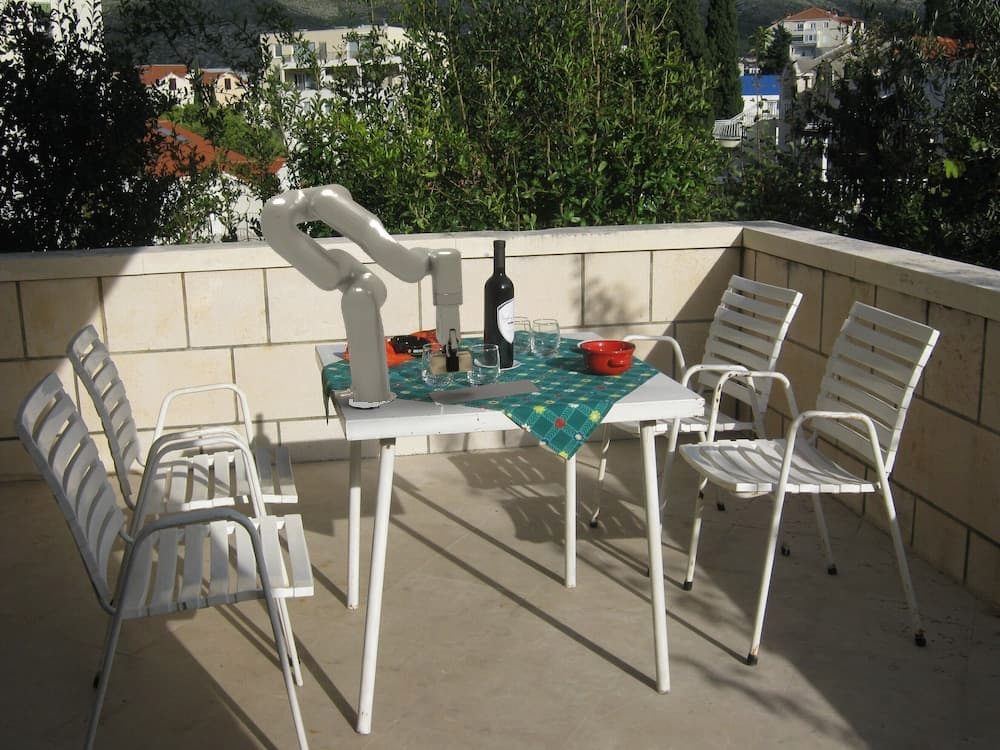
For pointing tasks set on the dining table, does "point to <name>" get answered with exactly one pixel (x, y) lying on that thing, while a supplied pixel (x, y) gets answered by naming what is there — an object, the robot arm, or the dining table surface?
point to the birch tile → (440, 363)
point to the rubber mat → (484, 392)
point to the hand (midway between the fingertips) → (450, 367)
